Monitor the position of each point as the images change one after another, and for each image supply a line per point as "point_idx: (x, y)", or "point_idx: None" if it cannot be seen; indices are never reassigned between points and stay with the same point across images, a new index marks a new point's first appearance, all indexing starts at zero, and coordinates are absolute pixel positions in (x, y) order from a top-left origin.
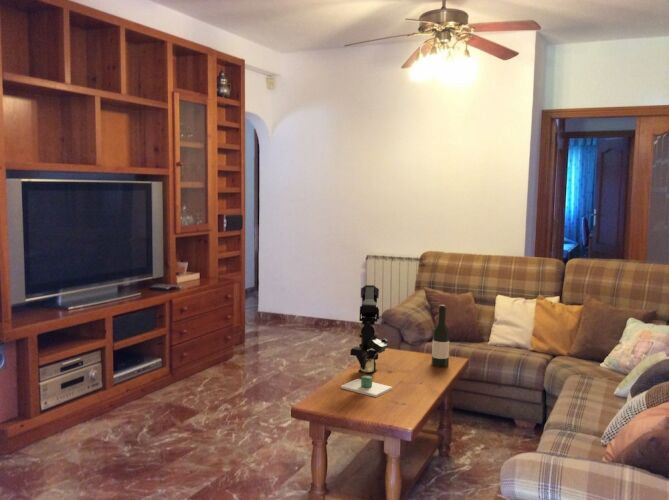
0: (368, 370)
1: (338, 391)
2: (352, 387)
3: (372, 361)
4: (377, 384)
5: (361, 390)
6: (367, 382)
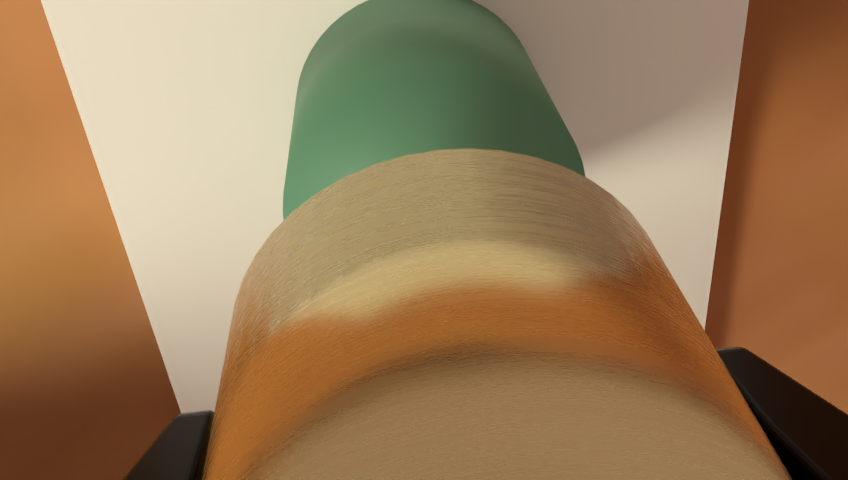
0: (628, 229)
1: (840, 308)
2: (656, 244)
3: (534, 472)
4: (122, 22)
5: (710, 20)
6: (531, 72)
